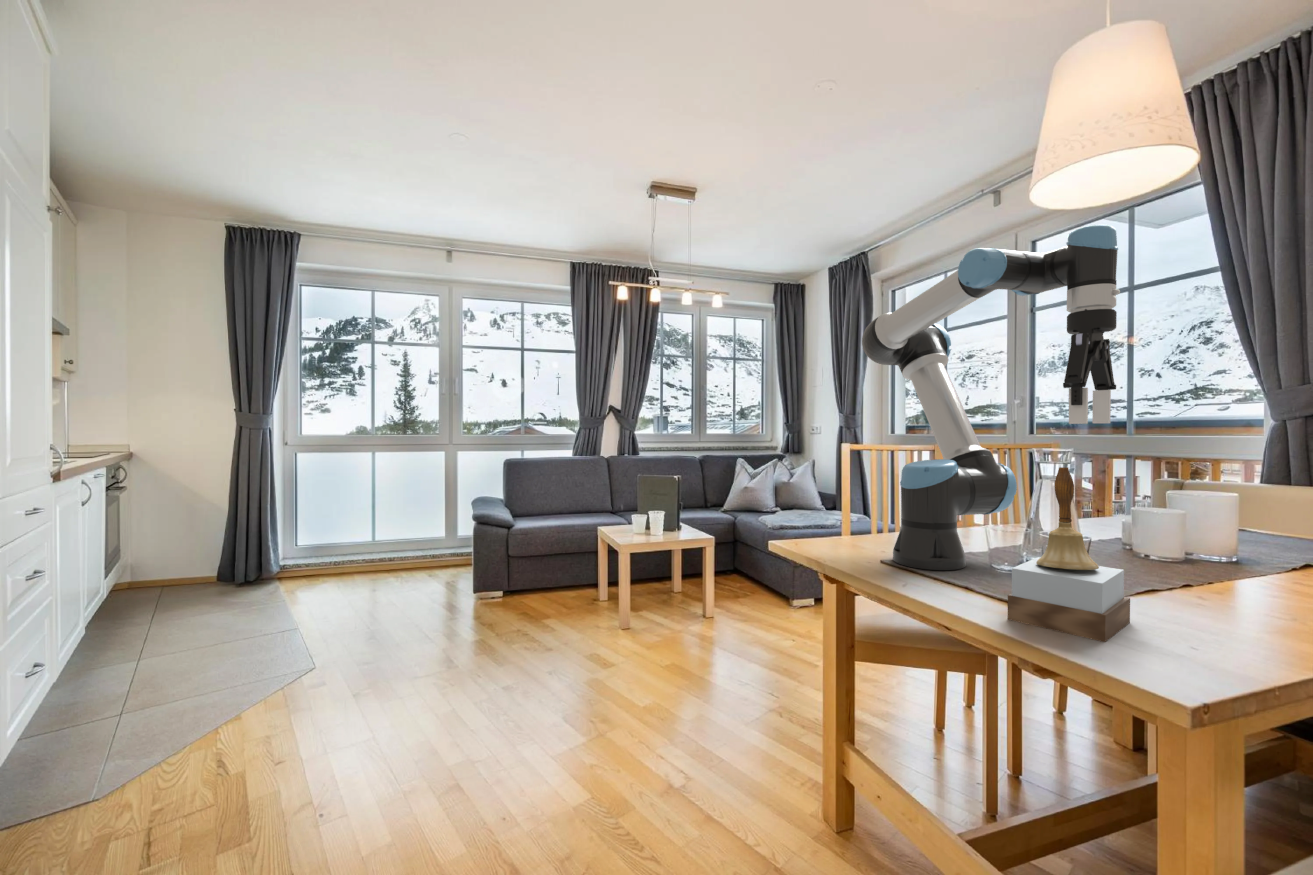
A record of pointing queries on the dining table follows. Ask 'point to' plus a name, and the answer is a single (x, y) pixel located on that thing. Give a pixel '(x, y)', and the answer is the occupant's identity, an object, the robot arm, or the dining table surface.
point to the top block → (1069, 586)
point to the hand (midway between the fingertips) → (1090, 423)
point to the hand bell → (1066, 532)
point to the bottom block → (1071, 617)
